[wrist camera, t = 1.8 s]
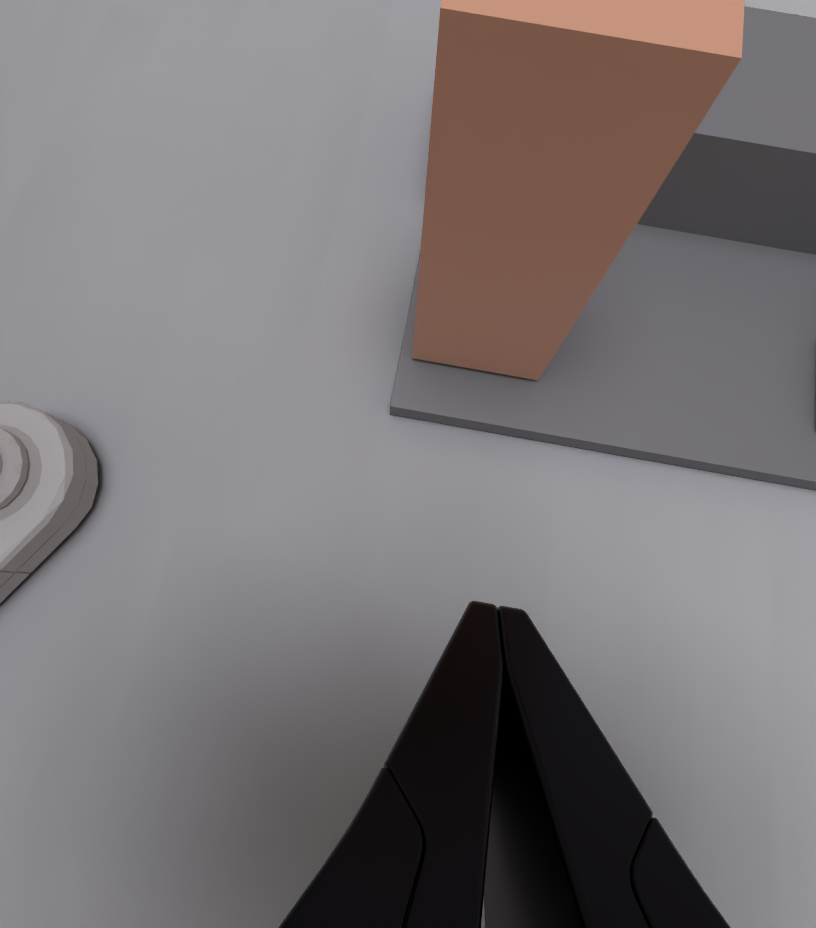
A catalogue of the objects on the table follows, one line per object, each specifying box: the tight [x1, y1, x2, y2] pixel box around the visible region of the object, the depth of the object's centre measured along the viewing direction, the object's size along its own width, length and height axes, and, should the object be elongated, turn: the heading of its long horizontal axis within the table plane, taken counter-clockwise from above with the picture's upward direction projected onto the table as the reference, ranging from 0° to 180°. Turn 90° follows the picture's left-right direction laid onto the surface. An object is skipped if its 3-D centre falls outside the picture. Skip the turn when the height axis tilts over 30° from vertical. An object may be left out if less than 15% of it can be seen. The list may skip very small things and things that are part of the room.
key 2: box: [412, 0, 745, 380], centre depth 17 cm, size 4×5×14 cm
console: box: [390, 6, 816, 490], centre depth 23 cm, size 16×22×7 cm
